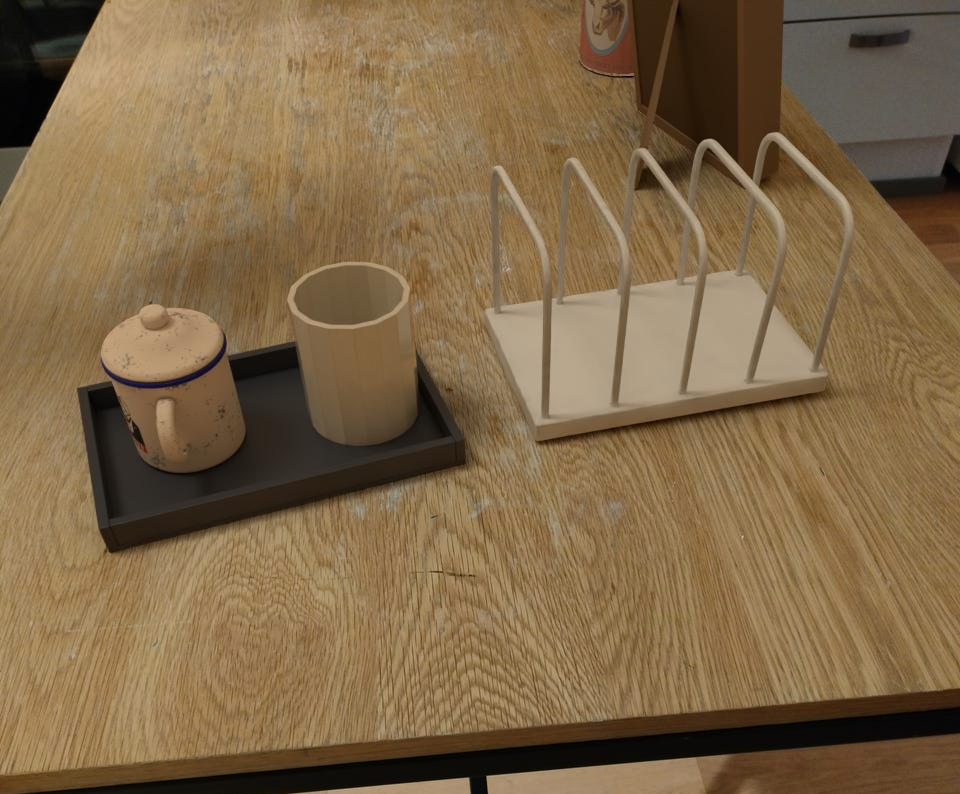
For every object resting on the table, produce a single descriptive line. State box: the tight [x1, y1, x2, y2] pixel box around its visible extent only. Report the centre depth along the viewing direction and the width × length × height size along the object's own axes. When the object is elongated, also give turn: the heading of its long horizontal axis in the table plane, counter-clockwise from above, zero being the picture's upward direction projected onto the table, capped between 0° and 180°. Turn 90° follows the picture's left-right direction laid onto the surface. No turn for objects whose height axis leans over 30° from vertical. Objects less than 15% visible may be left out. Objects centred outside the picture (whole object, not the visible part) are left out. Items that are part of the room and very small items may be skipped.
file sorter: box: [484, 132, 855, 442], centre depth 78 cm, size 25×17×16 cm
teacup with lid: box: [100, 303, 246, 473], centre depth 72 cm, size 12×9×12 cm
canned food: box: [578, 0, 634, 74], centre depth 120 cm, size 11×11×12 cm
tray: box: [76, 340, 467, 553], centre depth 77 cm, size 28×18×2 cm, turn 110°
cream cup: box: [286, 261, 420, 446], centre depth 75 cm, size 9×9×11 cm
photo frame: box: [627, 0, 785, 190], centre depth 98 cm, size 15×22×25 cm
